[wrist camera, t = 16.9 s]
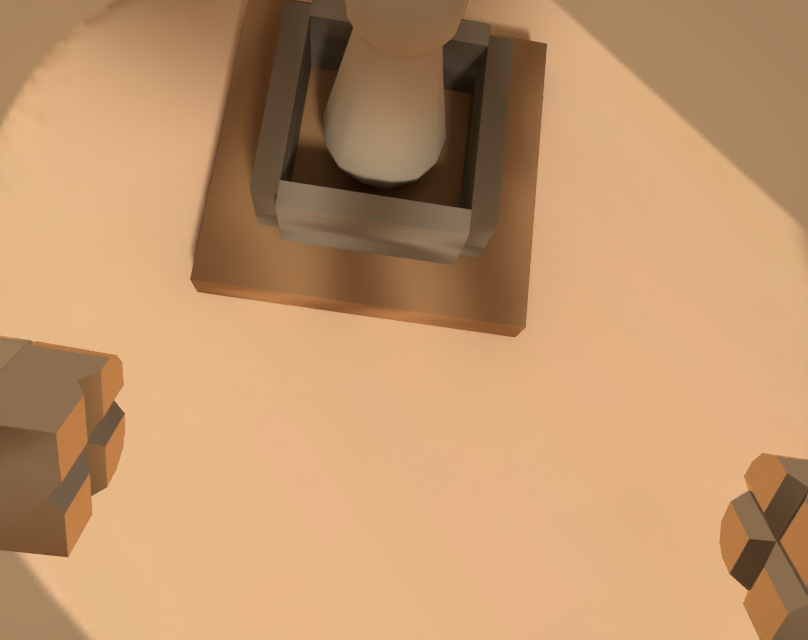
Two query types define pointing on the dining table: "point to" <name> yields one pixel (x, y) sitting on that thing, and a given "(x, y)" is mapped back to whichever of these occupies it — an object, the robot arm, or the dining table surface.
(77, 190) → the dining table surface
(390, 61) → the beige round peg
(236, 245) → the walnut socket board
